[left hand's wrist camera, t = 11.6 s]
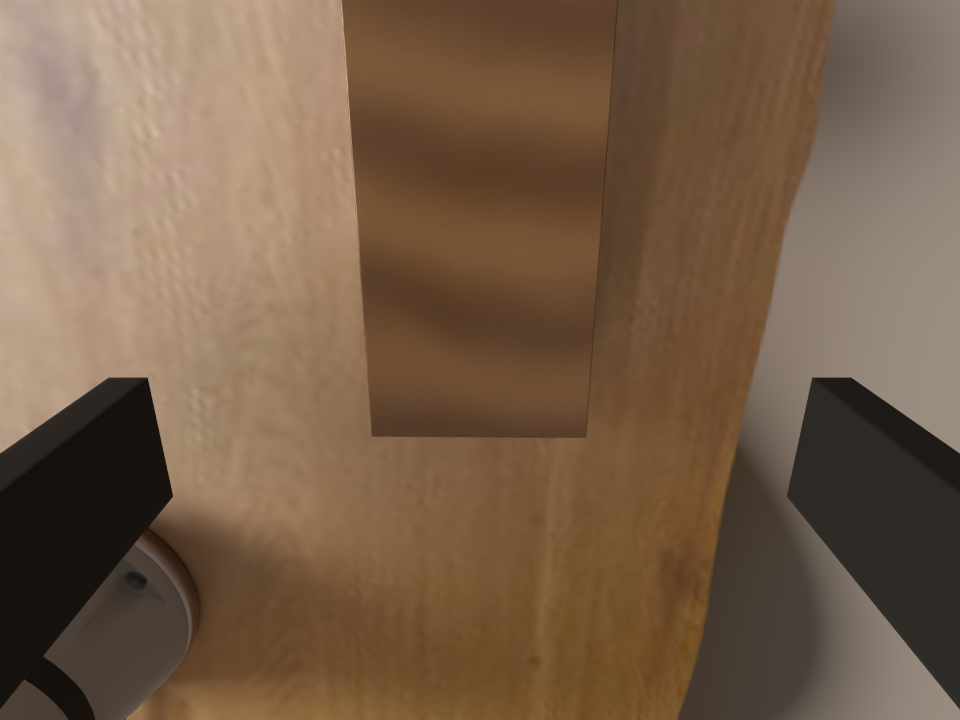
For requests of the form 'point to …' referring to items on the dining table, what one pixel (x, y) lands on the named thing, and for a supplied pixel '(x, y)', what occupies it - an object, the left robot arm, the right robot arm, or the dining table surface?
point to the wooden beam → (479, 209)
